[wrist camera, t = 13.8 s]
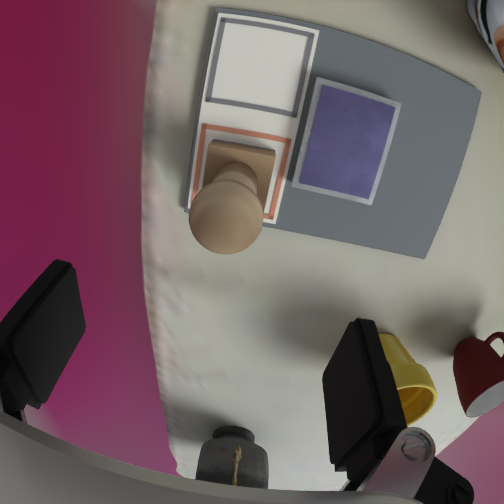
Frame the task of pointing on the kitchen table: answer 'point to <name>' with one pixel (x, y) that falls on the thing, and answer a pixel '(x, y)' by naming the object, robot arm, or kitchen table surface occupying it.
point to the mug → (479, 375)
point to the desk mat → (400, 152)
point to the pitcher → (233, 459)
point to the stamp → (231, 196)
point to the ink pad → (344, 141)
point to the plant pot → (409, 380)
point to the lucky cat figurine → (490, 24)
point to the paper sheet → (255, 93)
